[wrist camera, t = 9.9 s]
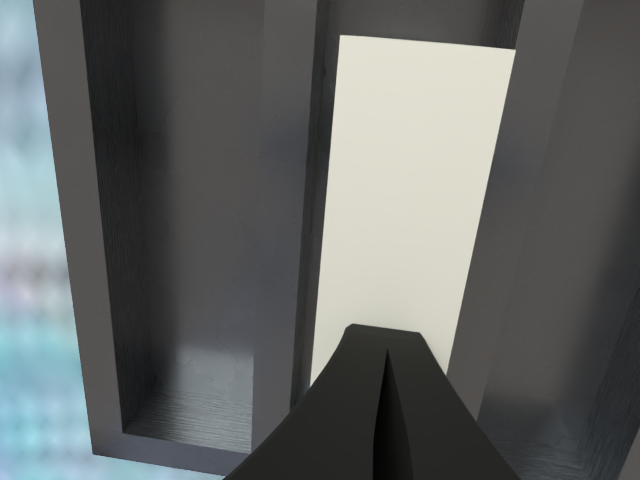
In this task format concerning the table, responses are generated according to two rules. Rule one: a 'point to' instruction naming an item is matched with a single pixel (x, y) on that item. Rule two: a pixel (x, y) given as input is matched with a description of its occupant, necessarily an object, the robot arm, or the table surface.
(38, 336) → the table surface
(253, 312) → the rack
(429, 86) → the blanking panel
